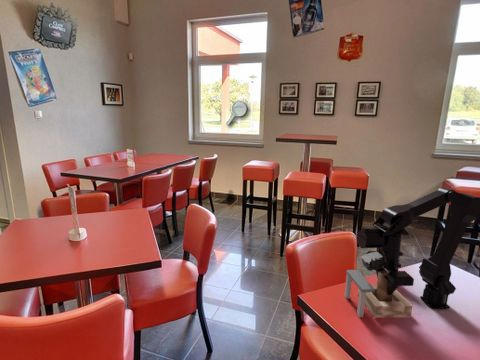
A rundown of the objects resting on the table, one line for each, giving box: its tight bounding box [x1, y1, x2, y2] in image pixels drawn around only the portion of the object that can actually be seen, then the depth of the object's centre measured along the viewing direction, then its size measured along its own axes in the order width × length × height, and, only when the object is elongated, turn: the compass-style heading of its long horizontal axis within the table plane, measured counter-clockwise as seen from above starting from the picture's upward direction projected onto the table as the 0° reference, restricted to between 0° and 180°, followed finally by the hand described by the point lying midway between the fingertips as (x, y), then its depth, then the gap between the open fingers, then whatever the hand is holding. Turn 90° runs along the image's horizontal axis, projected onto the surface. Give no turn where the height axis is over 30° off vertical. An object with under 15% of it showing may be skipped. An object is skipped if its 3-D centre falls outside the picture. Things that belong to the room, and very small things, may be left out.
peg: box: [375, 270, 393, 302], centre depth 97 cm, size 5×5×9 cm
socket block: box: [357, 284, 413, 319], centre depth 98 cm, size 12×12×4 cm
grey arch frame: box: [344, 269, 375, 318], centre depth 97 cm, size 4×12×10 cm, turn 3°
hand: (384, 290), depth 97 cm, fingers closed on peg, 5 cm apart
